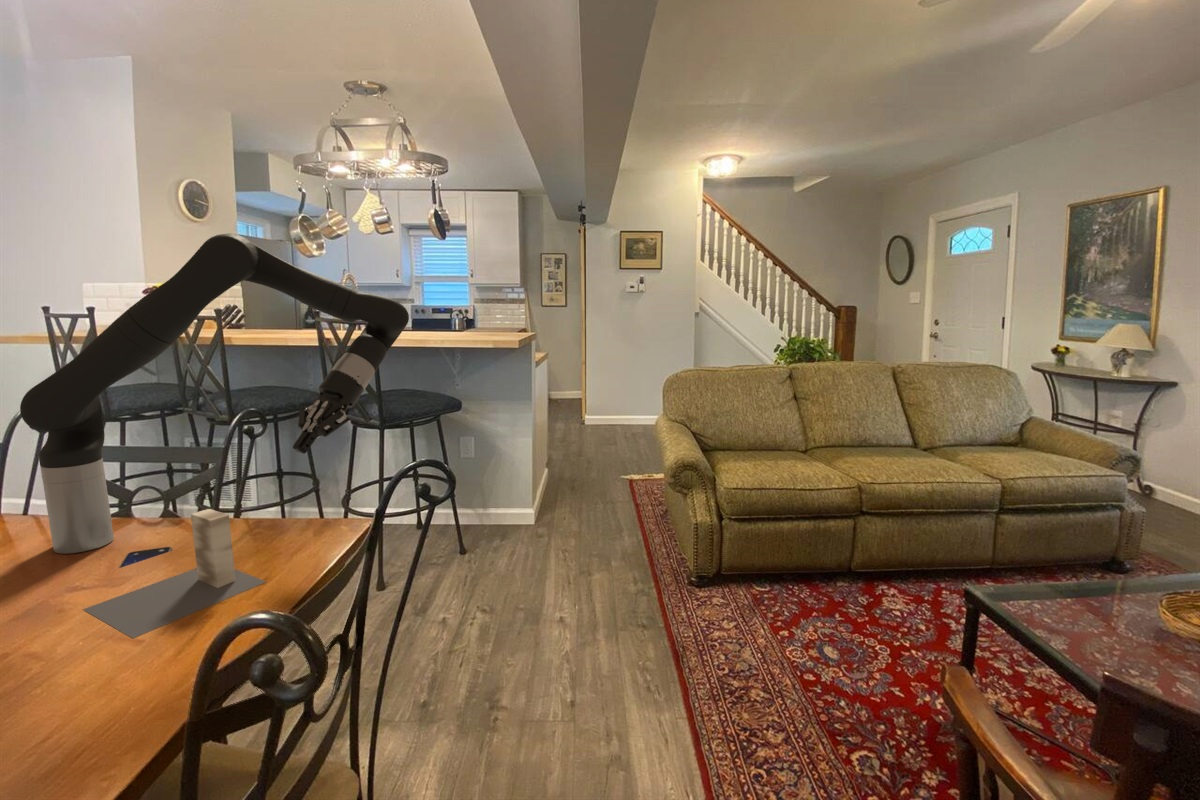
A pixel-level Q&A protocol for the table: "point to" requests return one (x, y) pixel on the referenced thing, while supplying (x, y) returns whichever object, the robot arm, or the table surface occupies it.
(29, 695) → the table surface
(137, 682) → the table surface
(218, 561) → the beige rectangular block
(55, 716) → the table surface
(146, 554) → the smartphone
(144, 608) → the rubber mat
